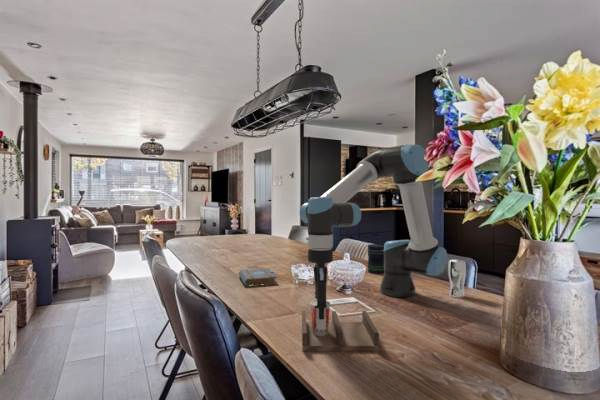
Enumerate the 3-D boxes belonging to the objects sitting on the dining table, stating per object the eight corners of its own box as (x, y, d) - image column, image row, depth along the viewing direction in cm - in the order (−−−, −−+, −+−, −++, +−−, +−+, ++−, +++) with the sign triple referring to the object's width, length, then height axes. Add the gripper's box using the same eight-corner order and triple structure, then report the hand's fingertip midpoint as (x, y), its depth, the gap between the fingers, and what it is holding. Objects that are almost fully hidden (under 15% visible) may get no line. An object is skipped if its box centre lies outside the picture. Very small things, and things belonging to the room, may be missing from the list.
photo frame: (353, 296, 143) (375, 310, 126) (353, 299, 143) (375, 313, 126) (320, 300, 138) (339, 314, 121) (320, 302, 138) (339, 317, 121)
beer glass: (461, 299, 141) (461, 262, 141) (445, 295, 147) (445, 260, 146) (468, 295, 146) (469, 260, 146) (452, 292, 151) (453, 258, 151)
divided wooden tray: (366, 326, 112) (366, 311, 112) (378, 351, 94) (378, 333, 94) (302, 326, 112) (301, 311, 112) (302, 351, 94) (302, 333, 94)
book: (238, 277, 181) (238, 268, 181) (269, 275, 186) (269, 266, 186) (244, 287, 161) (244, 277, 161) (278, 285, 166) (278, 274, 166)
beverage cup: (334, 334, 102) (334, 287, 102) (317, 338, 99) (317, 290, 99) (323, 327, 107) (323, 282, 107) (306, 331, 104) (306, 285, 104)
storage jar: (375, 269, 199) (375, 243, 199) (389, 272, 192) (389, 245, 191) (364, 271, 193) (363, 245, 193) (378, 274, 185) (378, 247, 185)
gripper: (307, 244, 112) (307, 314, 113) (308, 253, 93) (308, 338, 94) (329, 243, 112) (330, 313, 113) (336, 253, 93) (336, 338, 94)
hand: (320, 324), depth 103 cm, fingers closed on beverage cup, 6 cm apart
